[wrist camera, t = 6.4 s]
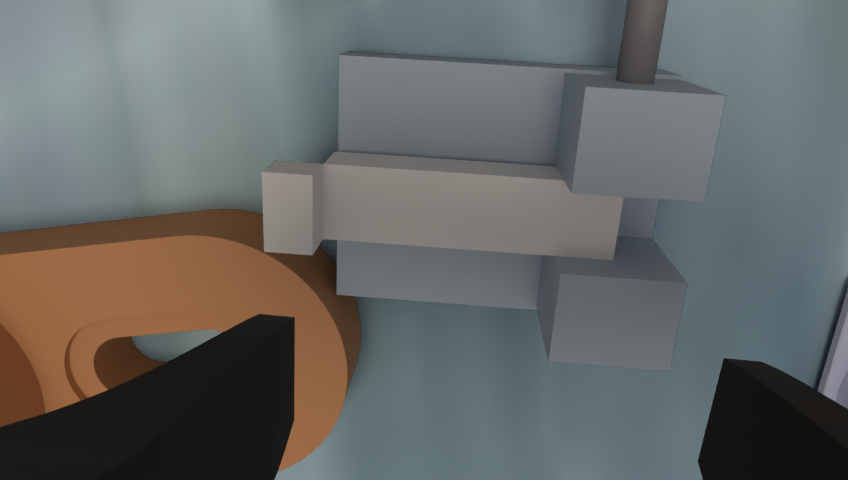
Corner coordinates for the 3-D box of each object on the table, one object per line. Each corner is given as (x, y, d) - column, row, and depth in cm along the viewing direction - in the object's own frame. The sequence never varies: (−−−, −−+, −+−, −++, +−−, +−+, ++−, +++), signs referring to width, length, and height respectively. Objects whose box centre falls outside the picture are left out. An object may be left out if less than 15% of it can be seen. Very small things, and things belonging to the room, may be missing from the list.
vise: (694, -95, 17) (772, -131, 13) (626, 296, 21) (668, 374, 16) (306, -115, 18) (252, -157, 13) (308, 273, 21) (266, 342, 17)
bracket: (-84, 453, 25) (-276, 609, 19) (-176, 251, 22) (-439, 350, 16) (379, 418, 23) (343, 578, 17) (338, 193, 21) (278, 279, 14)
